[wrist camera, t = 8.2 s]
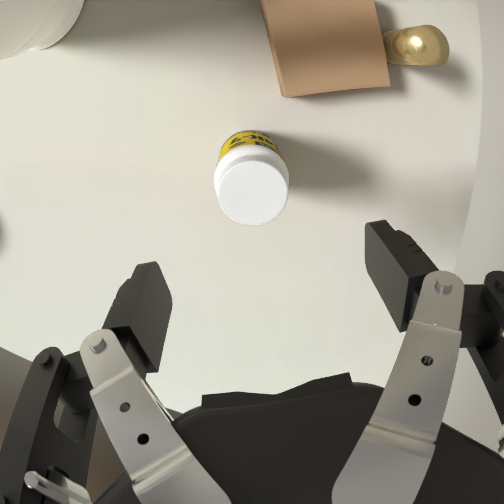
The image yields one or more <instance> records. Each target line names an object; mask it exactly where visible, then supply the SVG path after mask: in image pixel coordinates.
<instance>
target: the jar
mask: <svg viewBox="0 0 504 504" xmlns="http://www.w3.org/2000/svg"><path fill="white" fill-rule="evenodd" d="M83 3H84V0H0V60H1V59H5V58H9V57H12V56H15V55H18V54H20V53H23V52H25V51H38V50H42V49H45V48H48V47H50V46H51V45H53V44H55V43H56V42H58V41H59V40H60V39H61V38H62V37H63V36H64V35H65V34H66V33H67V32H68V31H69V30H70V29H71V27H72V26H73V25H74V23H75V21H76V20H77V18H78V16H79V14H80V12H81V9H82V7H83Z"/></svg>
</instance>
